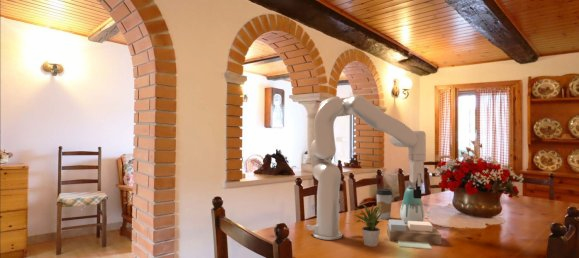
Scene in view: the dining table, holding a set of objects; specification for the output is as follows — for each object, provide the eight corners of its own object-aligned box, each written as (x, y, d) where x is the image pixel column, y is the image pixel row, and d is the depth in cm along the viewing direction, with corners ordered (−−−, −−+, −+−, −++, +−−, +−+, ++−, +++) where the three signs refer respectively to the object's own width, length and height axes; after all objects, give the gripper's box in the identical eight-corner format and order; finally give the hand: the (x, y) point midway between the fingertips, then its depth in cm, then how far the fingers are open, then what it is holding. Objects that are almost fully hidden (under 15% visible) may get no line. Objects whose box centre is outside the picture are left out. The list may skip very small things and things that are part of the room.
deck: (389, 241, 143) (390, 231, 143) (387, 232, 155) (387, 224, 155) (441, 244, 140) (441, 234, 140) (434, 236, 151) (434, 227, 151)
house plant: (363, 236, 150) (364, 198, 150) (394, 242, 141) (394, 202, 141) (346, 243, 139) (347, 203, 139) (379, 251, 130) (379, 208, 130)
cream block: (409, 230, 146) (410, 224, 146) (407, 226, 152) (407, 220, 152) (432, 231, 144) (432, 225, 144) (429, 227, 150) (429, 222, 150)
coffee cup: (393, 217, 185) (394, 189, 185) (389, 220, 178) (389, 191, 178) (378, 215, 189) (379, 187, 189) (373, 218, 182) (374, 189, 182)
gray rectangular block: (405, 231, 144) (405, 225, 144) (390, 230, 145) (391, 224, 145) (402, 225, 152) (402, 220, 152) (388, 224, 154) (388, 219, 154)
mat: (399, 246, 136) (399, 245, 136) (397, 241, 143) (397, 240, 143) (431, 249, 134) (431, 248, 134) (428, 243, 140) (428, 242, 140)
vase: (420, 227, 165) (420, 190, 165) (396, 223, 172) (396, 187, 172) (427, 223, 174) (427, 187, 174) (404, 219, 181) (404, 185, 181)
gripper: (406, 156, 165) (406, 195, 165) (411, 159, 150) (411, 201, 150) (422, 156, 164) (422, 195, 164) (429, 159, 149) (429, 201, 149)
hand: (417, 198), depth 157 cm, fingers closed
